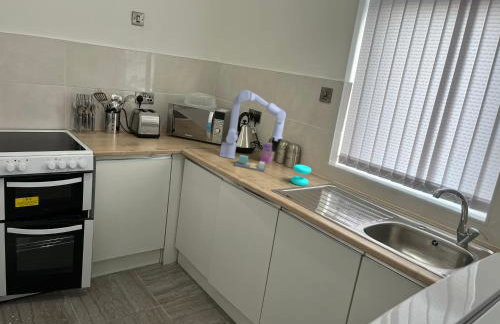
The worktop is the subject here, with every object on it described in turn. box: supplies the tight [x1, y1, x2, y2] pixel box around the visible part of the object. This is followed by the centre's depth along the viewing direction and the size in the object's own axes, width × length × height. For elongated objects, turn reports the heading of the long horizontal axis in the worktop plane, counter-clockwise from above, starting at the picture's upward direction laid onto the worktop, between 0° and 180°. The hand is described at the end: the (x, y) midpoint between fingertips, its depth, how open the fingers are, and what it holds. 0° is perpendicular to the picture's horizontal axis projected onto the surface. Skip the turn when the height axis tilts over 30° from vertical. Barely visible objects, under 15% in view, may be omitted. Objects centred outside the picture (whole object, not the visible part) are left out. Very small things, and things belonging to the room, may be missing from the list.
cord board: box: [234, 159, 267, 173], centre depth 232 cm, size 18×12×4 cm, turn 83°
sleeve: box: [238, 154, 249, 164], centre depth 232 cm, size 5×5×4 cm
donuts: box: [290, 164, 312, 187], centre depth 214 cm, size 10×10×10 cm
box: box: [259, 142, 275, 165], centre depth 253 cm, size 10×6×12 cm, turn 161°
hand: (274, 150), depth 243 cm, fingers open, 7 cm apart
